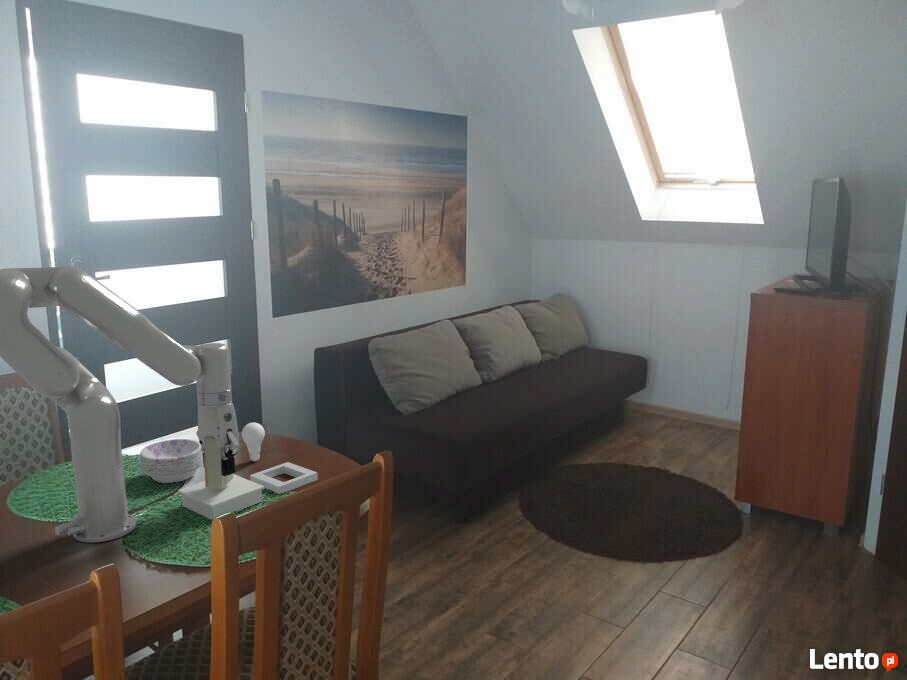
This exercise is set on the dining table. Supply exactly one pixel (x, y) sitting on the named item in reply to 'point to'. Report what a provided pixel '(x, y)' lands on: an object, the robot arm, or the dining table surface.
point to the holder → (280, 487)
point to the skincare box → (214, 465)
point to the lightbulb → (253, 439)
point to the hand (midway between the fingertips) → (219, 470)
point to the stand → (221, 497)
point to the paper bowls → (171, 460)
